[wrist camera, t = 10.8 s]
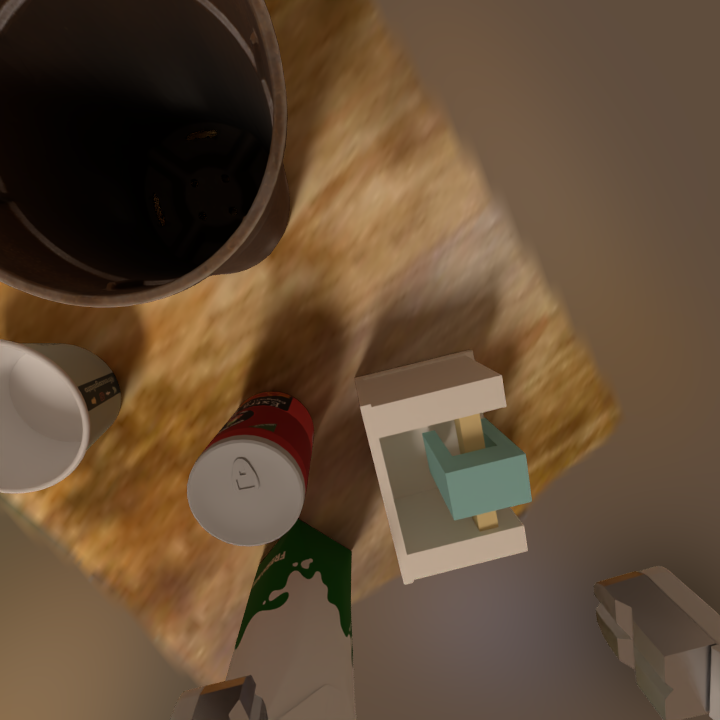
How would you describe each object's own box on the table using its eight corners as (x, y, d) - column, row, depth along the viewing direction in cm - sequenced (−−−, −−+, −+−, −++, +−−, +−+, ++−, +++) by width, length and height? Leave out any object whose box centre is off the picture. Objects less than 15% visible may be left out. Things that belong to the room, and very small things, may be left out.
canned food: (290, 375, 32) (267, 419, 22) (329, 445, 34) (326, 518, 23) (218, 410, 33) (160, 471, 22) (260, 478, 34) (225, 565, 24)
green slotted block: (421, 433, 32) (445, 473, 25) (485, 417, 32) (525, 453, 25) (429, 471, 33) (454, 520, 26) (491, 456, 33) (531, 501, 26)
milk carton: (294, 506, 35) (242, 781, 16) (364, 549, 37) (396, 846, 17) (246, 567, 36) (141, 894, 17) (316, 606, 38) (294, 945, 18)
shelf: (354, 377, 33) (359, 406, 25) (470, 349, 33) (512, 369, 25) (389, 520, 36) (404, 584, 28) (494, 494, 36) (537, 551, 29)
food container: (89, 305, 30) (21, 310, 24) (162, 422, 33) (119, 455, 26) (-33, 361, 30) (-132, 382, 24) (49, 473, 33) (-20, 518, 26)
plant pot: (75, 127, 27) (-290, -95, 11) (268, 54, 27) (170, -272, 11) (169, 322, 31) (-8, 360, 15) (340, 259, 30) (344, 231, 15)
